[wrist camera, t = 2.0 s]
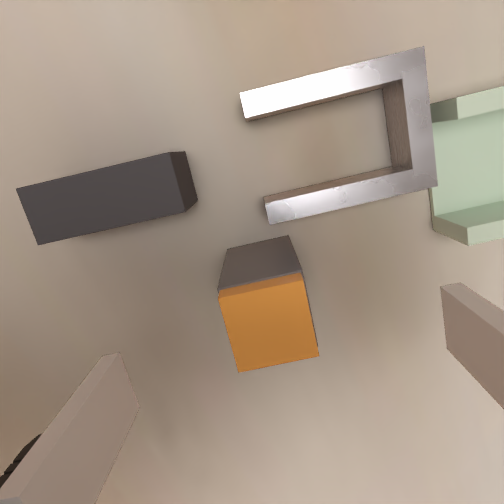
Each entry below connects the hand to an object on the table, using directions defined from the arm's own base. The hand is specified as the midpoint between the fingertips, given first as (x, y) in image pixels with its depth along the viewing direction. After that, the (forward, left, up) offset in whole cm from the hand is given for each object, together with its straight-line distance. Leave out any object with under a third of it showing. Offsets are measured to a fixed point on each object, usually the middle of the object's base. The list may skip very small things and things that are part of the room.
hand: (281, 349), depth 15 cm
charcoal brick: (-7, +7, -10) cm, 14 cm away
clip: (+5, +7, -10) cm, 13 cm away
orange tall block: (0, 0, -10) cm, 10 cm away
